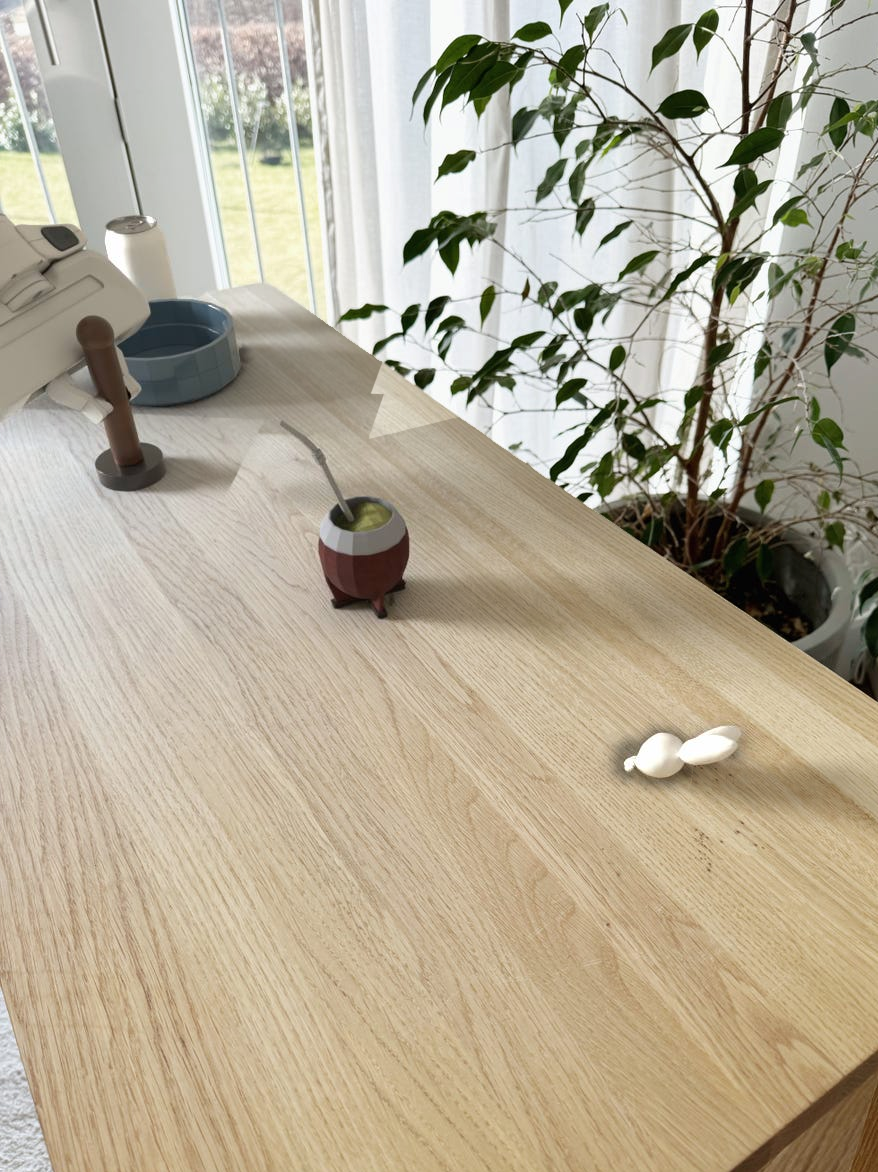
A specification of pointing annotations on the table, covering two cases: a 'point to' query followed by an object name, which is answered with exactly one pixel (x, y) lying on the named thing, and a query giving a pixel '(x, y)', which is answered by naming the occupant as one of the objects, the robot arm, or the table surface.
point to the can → (141, 255)
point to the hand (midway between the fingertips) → (120, 406)
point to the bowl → (182, 352)
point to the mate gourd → (359, 544)
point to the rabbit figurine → (683, 751)
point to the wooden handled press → (117, 414)
